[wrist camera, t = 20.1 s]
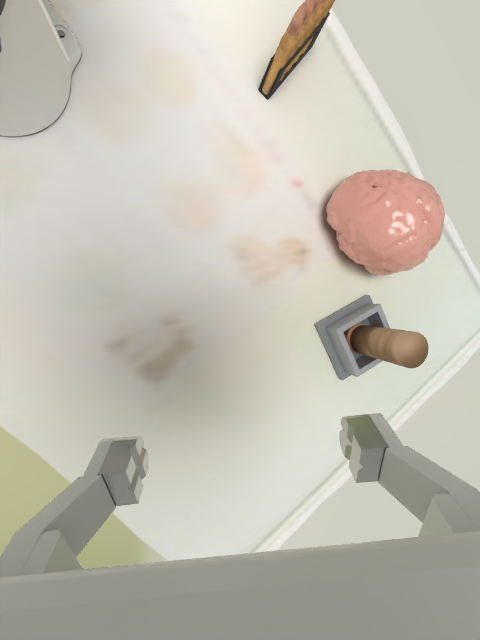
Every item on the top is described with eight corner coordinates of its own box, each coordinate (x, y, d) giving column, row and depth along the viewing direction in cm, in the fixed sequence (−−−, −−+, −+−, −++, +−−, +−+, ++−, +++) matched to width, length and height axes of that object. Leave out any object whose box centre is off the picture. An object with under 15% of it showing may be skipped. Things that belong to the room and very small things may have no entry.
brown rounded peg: (338, 332, 44) (391, 343, 33) (361, 318, 44) (420, 324, 34) (350, 357, 44) (405, 376, 34) (372, 342, 45) (434, 356, 35)
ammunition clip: (267, 100, 40) (306, 17, 28) (257, 90, 39) (292, 1, 28) (312, 46, 40) (367, -56, 29) (303, 35, 40) (355, -72, 28)
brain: (302, 236, 47) (316, 188, 35) (353, 187, 48) (384, 123, 36) (378, 302, 44) (422, 272, 32) (431, 246, 45) (493, 198, 33)
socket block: (314, 324, 44) (327, 326, 40) (365, 295, 45) (383, 294, 42) (338, 378, 45) (354, 386, 42) (387, 348, 47) (406, 353, 43)
